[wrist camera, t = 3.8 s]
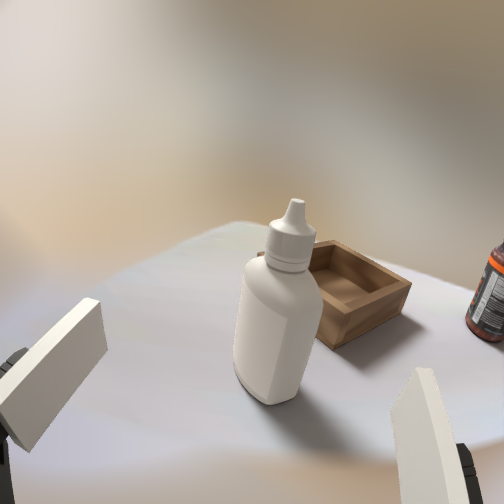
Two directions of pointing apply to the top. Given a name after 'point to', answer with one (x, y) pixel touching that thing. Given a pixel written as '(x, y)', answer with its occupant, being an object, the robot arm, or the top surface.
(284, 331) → the eye dropper bottle
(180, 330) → the top surface
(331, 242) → the holder
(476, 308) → the supplement bottle
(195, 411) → the top surface
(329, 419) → the top surface
